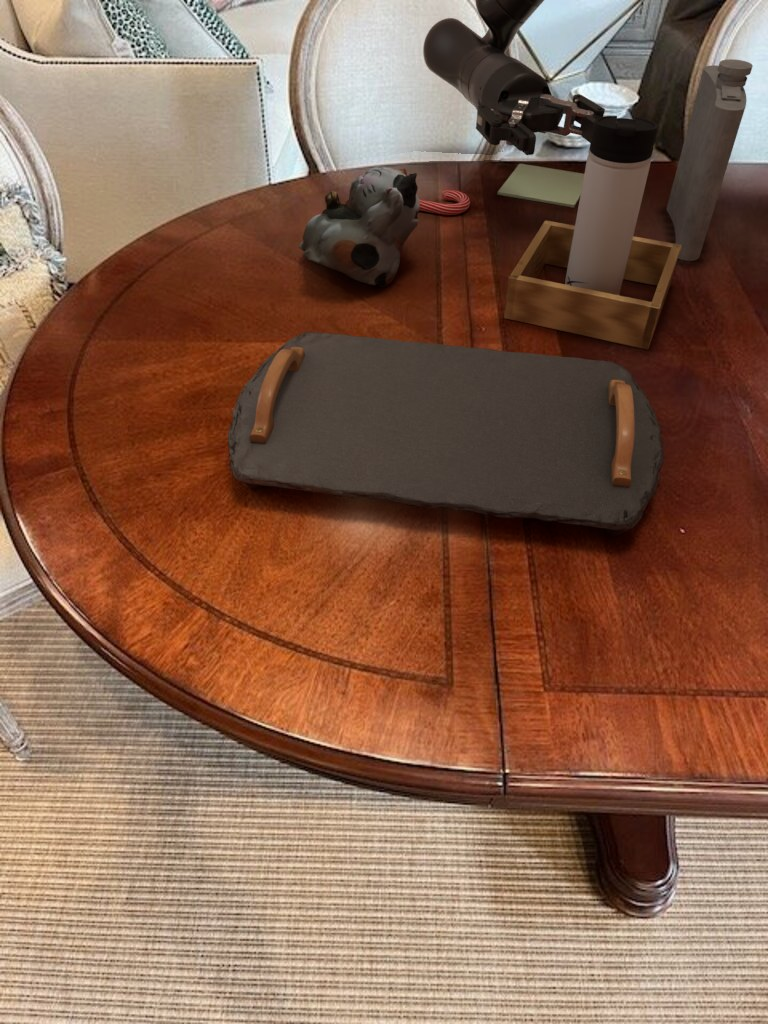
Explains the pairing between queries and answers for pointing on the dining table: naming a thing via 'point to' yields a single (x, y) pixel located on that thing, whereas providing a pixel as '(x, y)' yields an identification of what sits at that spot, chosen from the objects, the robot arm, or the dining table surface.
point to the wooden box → (585, 306)
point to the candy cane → (447, 208)
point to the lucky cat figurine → (365, 226)
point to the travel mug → (610, 202)
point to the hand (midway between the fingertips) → (567, 141)
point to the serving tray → (450, 429)
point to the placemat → (544, 185)
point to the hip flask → (707, 152)
